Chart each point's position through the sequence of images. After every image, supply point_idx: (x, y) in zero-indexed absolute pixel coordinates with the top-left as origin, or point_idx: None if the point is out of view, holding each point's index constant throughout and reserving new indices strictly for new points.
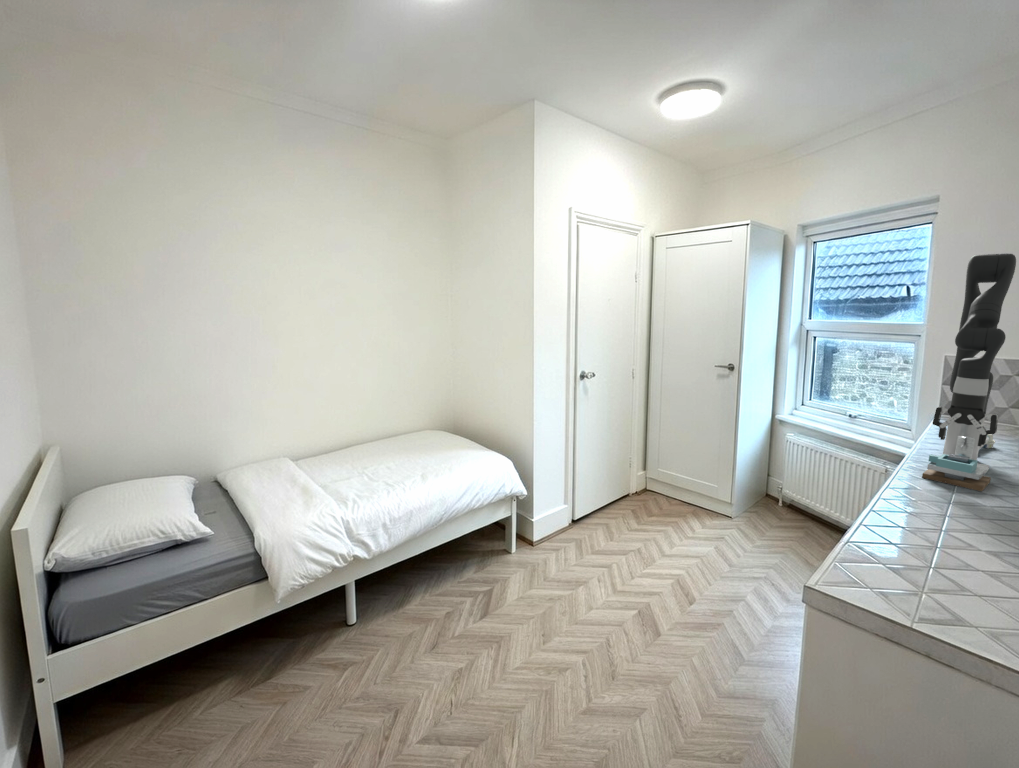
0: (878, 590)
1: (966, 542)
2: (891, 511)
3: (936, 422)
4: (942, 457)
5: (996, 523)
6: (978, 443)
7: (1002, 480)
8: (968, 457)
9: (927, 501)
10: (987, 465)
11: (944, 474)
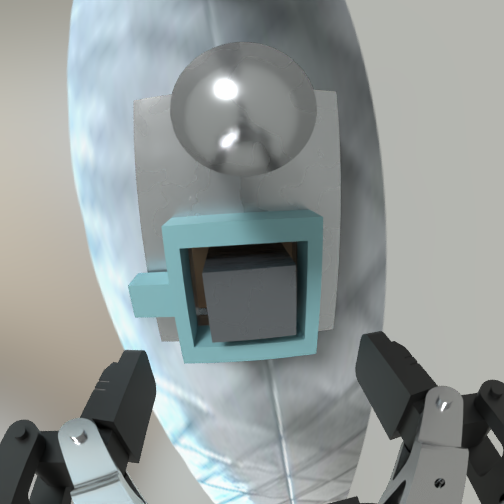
0: None
1: (315, 500)
2: (232, 499)
3: (64, 488)
4: (188, 323)
5: (347, 451)
6: (364, 388)
7: (345, 61)
8: (291, 276)
9: (249, 455)
10: (331, 97)
11: (206, 249)
